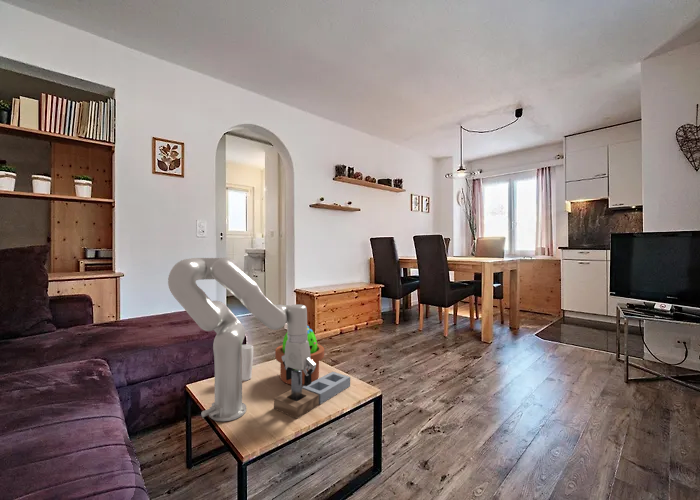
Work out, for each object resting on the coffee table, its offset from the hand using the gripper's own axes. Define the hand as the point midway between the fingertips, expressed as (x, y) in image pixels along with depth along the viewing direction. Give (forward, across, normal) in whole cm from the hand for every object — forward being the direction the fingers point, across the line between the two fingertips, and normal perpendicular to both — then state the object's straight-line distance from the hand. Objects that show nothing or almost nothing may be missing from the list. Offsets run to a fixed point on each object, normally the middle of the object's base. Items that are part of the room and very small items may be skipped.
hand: (298, 381), depth 122 cm
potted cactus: (+10, -19, +19) cm, 29 cm away
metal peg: (+10, -1, -1) cm, 10 cm away
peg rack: (+10, 0, +16) cm, 19 cm away
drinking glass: (+9, -38, +3) cm, 39 cm away
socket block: (+10, -1, -1) cm, 10 cm away
